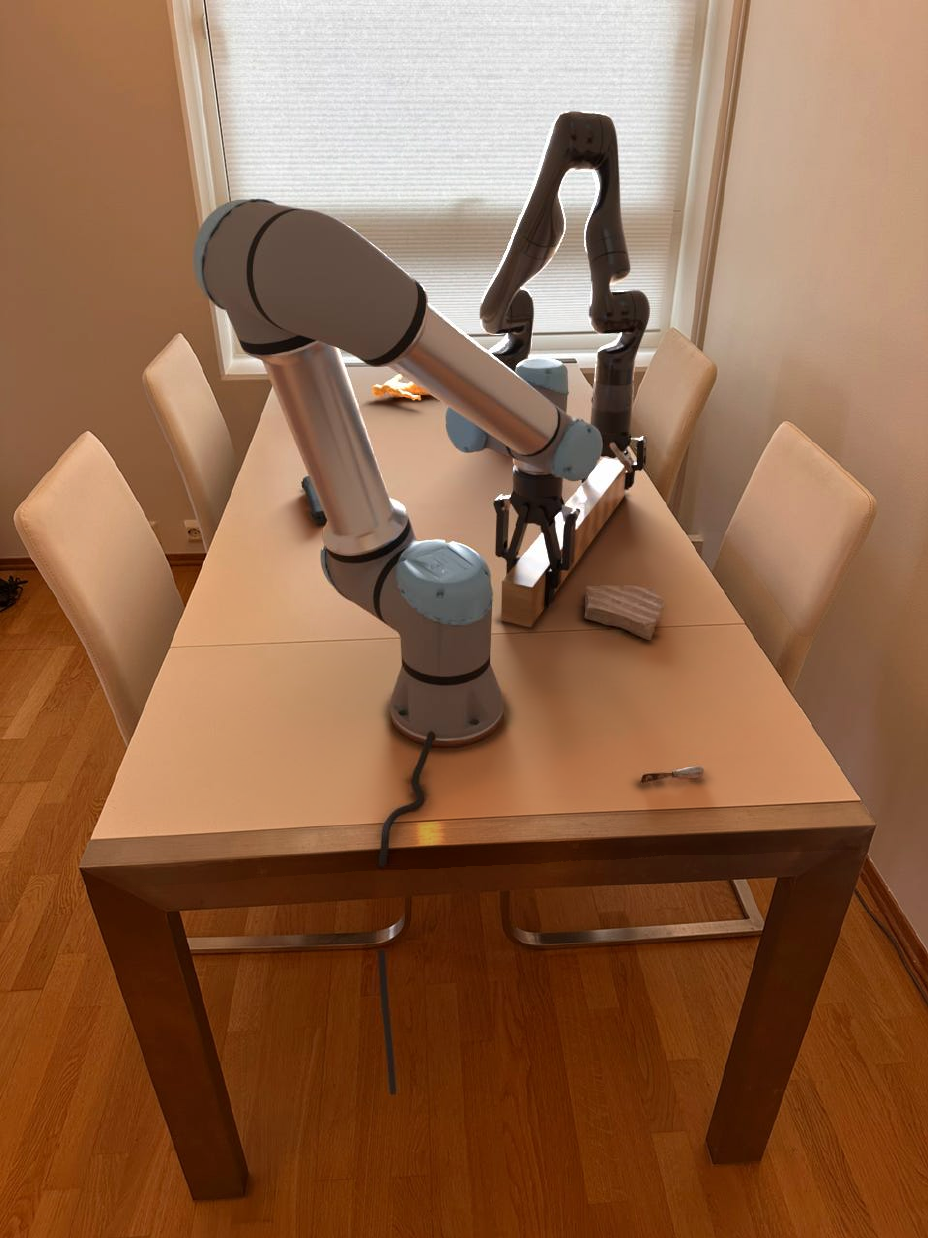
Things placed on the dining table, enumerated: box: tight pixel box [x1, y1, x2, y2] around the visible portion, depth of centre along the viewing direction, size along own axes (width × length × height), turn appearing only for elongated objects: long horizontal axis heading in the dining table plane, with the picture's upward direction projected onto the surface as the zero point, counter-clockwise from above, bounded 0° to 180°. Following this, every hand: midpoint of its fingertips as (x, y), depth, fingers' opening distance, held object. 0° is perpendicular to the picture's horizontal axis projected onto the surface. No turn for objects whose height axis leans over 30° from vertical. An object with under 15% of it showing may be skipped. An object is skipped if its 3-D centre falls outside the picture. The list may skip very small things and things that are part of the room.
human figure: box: [371, 373, 430, 401], centre depth 236 cm, size 20×20×4 cm
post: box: [500, 457, 627, 628], centre depth 159 cm, size 55×5×7 cm, turn 156°
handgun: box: [300, 475, 328, 525], centre depth 177 cm, size 3×18×12 cm
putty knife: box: [640, 765, 705, 784], centre depth 109 cm, size 1×8×2 cm, turn 103°
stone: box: [583, 584, 665, 641], centre depth 141 cm, size 13×12×3 cm
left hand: (532, 599), depth 145 cm, fingers closed on post, 5 cm apart
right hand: (605, 485), depth 174 cm, fingers open, 8 cm apart
